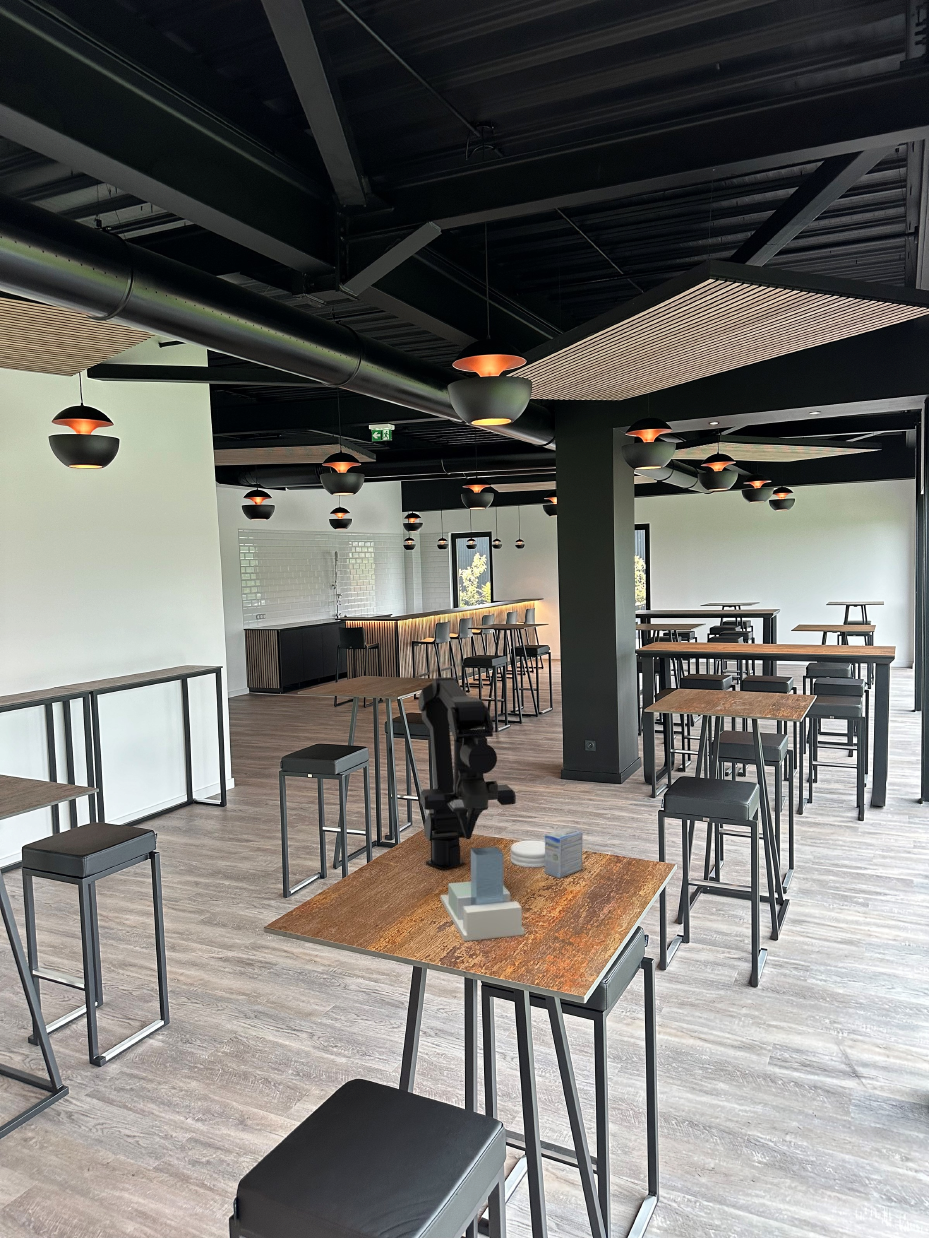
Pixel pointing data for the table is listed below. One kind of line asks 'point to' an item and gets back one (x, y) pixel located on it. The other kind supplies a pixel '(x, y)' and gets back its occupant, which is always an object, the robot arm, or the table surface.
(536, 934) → the table surface
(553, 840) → the medicine box
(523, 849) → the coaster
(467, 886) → the block
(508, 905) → the vise bed
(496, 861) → the slate-blue block
